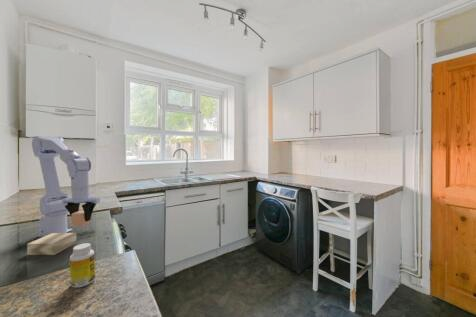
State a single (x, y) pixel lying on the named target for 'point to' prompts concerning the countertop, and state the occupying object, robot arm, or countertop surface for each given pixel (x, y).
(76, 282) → the supplement bottle
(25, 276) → the countertop surface
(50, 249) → the base
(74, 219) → the block
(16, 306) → the countertop surface
